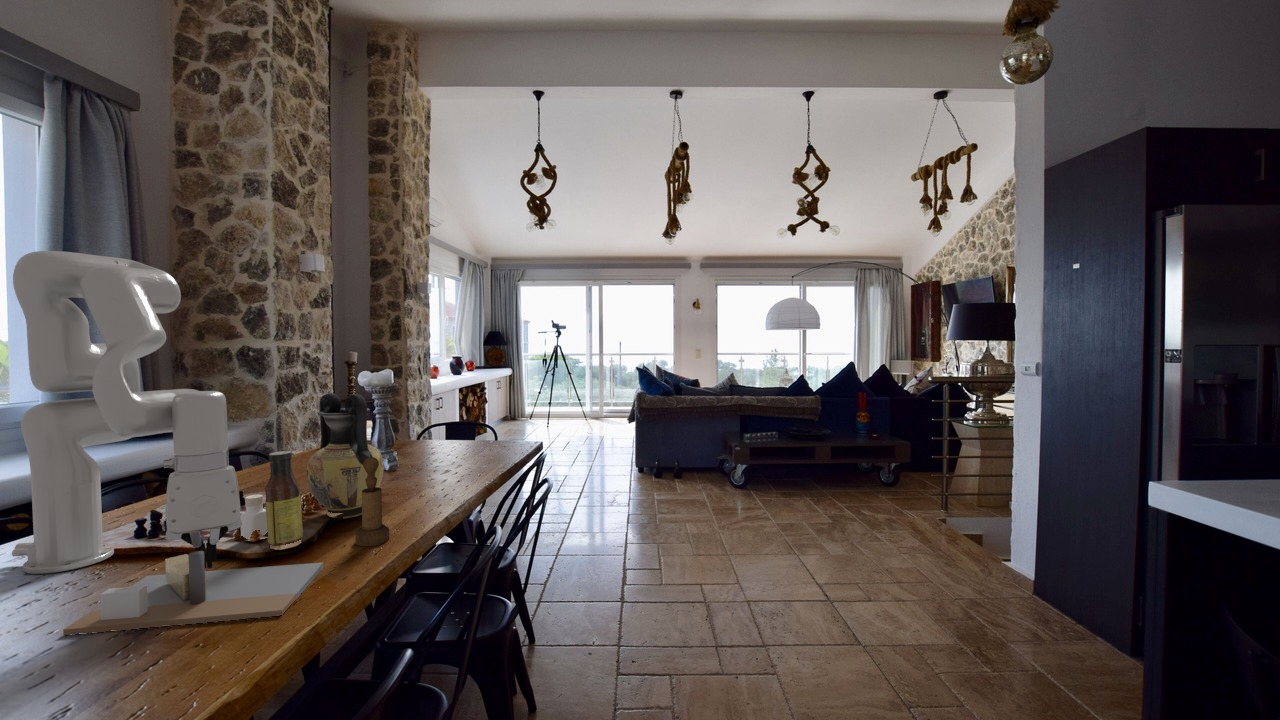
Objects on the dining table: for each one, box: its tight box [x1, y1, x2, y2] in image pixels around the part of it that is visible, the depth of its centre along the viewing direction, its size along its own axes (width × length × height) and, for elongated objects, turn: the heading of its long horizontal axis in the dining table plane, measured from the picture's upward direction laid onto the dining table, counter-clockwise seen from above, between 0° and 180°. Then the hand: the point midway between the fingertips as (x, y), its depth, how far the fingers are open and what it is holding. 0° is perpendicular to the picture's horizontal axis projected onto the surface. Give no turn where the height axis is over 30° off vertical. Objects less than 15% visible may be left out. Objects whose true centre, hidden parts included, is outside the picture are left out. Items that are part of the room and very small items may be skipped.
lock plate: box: [62, 550, 325, 635], centre depth 97 cm, size 29×20×9 cm
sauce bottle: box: [264, 450, 304, 546], centre depth 120 cm, size 7×6×20 cm
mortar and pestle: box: [354, 457, 390, 547], centre depth 123 cm, size 7×6×18 cm
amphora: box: [306, 392, 385, 519], centre depth 142 cm, size 18×17×30 cm
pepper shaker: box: [240, 494, 267, 539], centre depth 124 cm, size 4×4×10 cm
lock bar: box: [164, 553, 206, 600], centre depth 98 cm, size 11×3×4 cm, turn 51°
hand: (206, 566), depth 101 cm, fingers closed
